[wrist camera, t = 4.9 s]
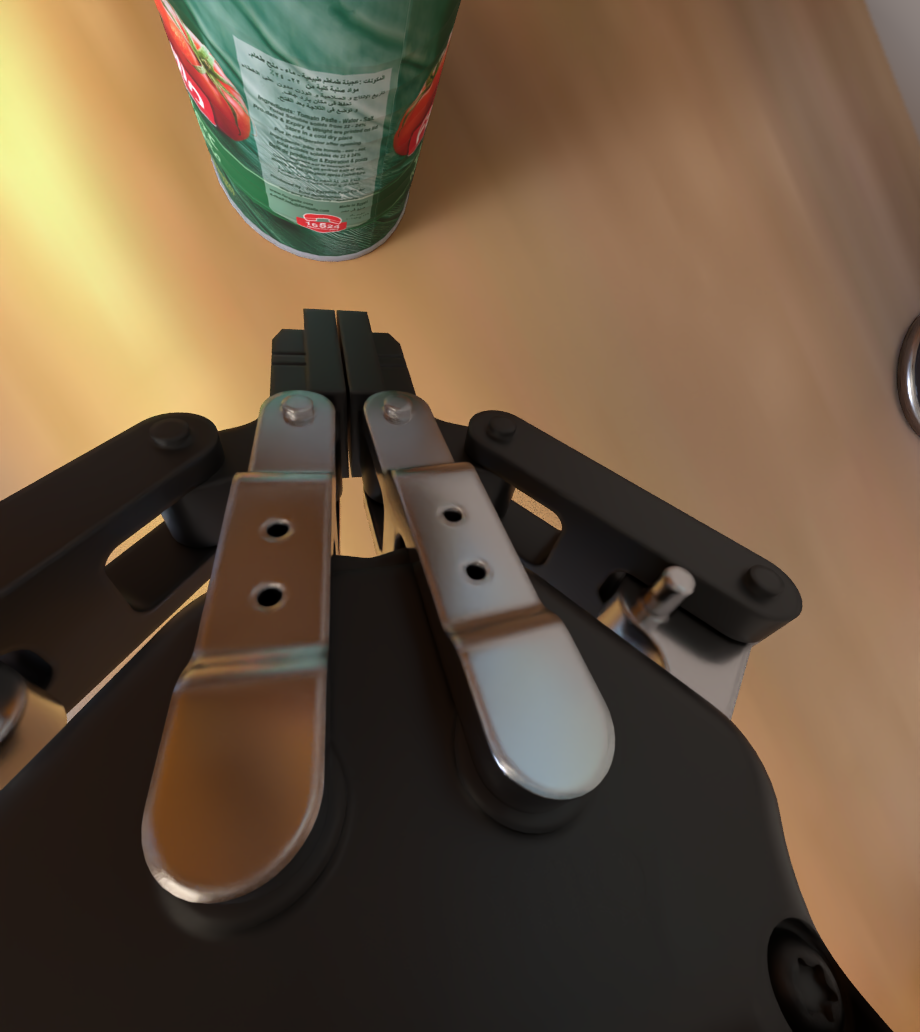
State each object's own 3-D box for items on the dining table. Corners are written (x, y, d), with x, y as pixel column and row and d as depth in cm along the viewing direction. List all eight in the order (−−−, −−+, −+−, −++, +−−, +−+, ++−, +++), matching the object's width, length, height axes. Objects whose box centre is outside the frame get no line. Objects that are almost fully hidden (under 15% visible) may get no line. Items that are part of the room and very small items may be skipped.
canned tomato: (441, 218, 20) (568, -80, 9) (286, 294, 18) (230, 36, 8) (343, 31, 18) (364, -586, 8) (163, 97, 17) (-120, -572, 6)
